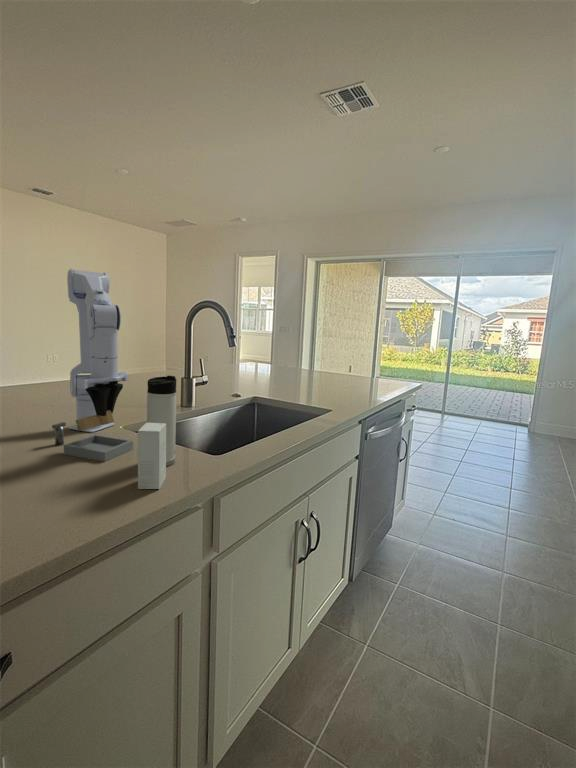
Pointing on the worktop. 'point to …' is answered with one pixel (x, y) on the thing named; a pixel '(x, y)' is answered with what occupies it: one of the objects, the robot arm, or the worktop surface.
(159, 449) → the skincare box
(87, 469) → the worktop surface
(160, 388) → the travel mug
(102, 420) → the ring
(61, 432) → the bolt
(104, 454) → the tray
